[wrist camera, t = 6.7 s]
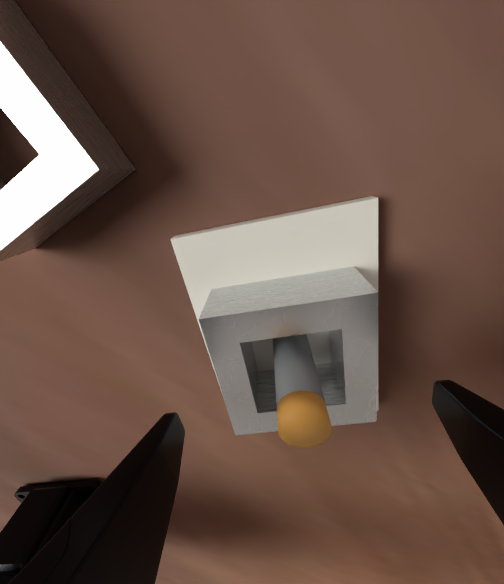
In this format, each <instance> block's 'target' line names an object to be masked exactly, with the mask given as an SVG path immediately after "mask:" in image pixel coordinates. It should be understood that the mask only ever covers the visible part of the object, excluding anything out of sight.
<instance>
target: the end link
mask: <svg viewBox="0 0 504 584" xmlns="http://www.w3.org/2000/svg"><path fill="white" fill-rule="evenodd" d="M199 322H200V325H201V328H202V331H203V335H204V338H205V341H206V344H207V347H208V350H209V353H210V357H211V360H212V363H213V366H214V369H215V372H216V376H217V379H218V382H219V385H220V388H221V391H222V395H223V398H224V401H225V404H226V407H227V410H228V414H229V417H230V420H231V423H232V426H233V429H234V432H235V435H243V434H253V433H264V432H274V431H278V419H277V403H276V387H275V371H274V369H272V370H264V371H258V368H257V364H256V359H255V355H254V351H253V346H252V342H251V341H257V340H265V339H272V338H279V337H287V336H294V335H302V334H309V333H316V332H324V331H329V343H330V356H331V362H330V363H321V364H315V367H316V371H317V374H318V378H319V382H320V385H321V389H322V393H323V396H324V400H325V404H326V407H327V411H328V415H329V419H330V422H331V426H336V425H347V424H357V423H367V422H377V358H378V292H377V290H376V289H375V288H374V287H373V286H372V285H371V284H370V283H369V282H368V281H367V280H366V279H365V278H364V277H363V276H362V275H361V274H360V272H359V271H358V270H357V269H356V268H355V267H354V266H353V267H347V268H340V269H334V270H328V271H322V272H315V273H309V274H303V275H297V276H290V277H284V278H278V279H272V280H265V281H259V282H253V283H247V284H241V285H234V286H228V287H222V288H216V289H211V291H210V293H209V296H208V298H207V301H206V303H205V305H204V308H203V310H202V312H201V315H200V317H199Z"/></svg>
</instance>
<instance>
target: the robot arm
mask: <svg viewBox="0 0 504 584" xmlns="http://www.w3.org/2000/svg"><path fill="white" fill-rule="evenodd" d="M432 403H433V406H434V409H435V411H436V412H437V414H438V416H439V418H440V420H441V422H442V424H443V426H444V428H445V430H446V432H447V434H448V435H449V437H450V439H451V441H452V443H453V445H454V447H455V449H456V451H457V453H458V454H459V456H460V458H461V460H462V461H463V463H464V464H465V466H466V468H467V469H468V471H469V472H470V474H471V475H472V477H473V479H474V480H475V482H476V483H477V485H478V486H479V488H480V489H481V491H482V492H483V494H484V496H485V497H486V499H487V500H488V502H489V503H490V505H491V506H492V508H493V509H494V511H495V512H496V514H497V516H498V517H499V519H500V520H501V522H502V523H503V525H504V410H503V409H502V408H500V407H498V406H496V405H494V404H493V403H491V402H489V401H487V400H485V399H484V398H482V397H480V396H478V395H476V394H475V393H473V392H471V391H469V390H467V389H466V388H464V387H462V386H460V385H459V384H457V383H455V382H453V381H451V380H441V381H436V382H435V383H434V387H433V396H432ZM184 436H185V430H184V426H183V424H182V422H181V420H180V418H179V415H178V414H177V413H175V412H174V413H166V414H164V415H163V416H162V417H161V418H160V419H159V421H158V422H157V423H156V424H155V425H154V426H153V427H152V428H151V429H150V431H149V432H148V433H147V434H146V435H145V436H144V437H143V438H142V439H141V441H140V442H139V443H138V444H137V445H136V446H135V447H134V448H133V449H132V450H131V452H130V453H129V454H128V455H127V456H126V457H125V458H124V459H123V460H122V462H121V463H120V464H119V465H118V466H117V467H116V468H115V469H114V470H113V471H112V473H111V474H110V475H109V476H108V477H107V478H106V479H105V480H104V481H103V483H102V484H101V483H100V482H98V481H95V480H87V481H76V482H65V483H54V484H43V485H32V486H22V487H20V488H19V489H18V490H17V491H16V493H15V494H14V496H15V497H16V498H17V499H18V500H19V501H20V502H21V505H20V506H19V508H18V509H17V510H16V512H15V513H14V515H13V516H12V517H11V519H10V520H9V522H8V523H7V524H6V526H5V527H4V529H3V530H2V531H1V533H0V584H155V581H156V576H157V572H158V568H159V563H160V559H161V555H162V551H163V546H164V542H165V538H166V533H167V529H168V525H169V520H170V516H171V512H172V507H173V503H174V499H175V495H176V490H177V485H178V480H179V473H180V466H181V458H182V451H183V444H184Z"/></svg>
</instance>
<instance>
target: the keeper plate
mask: <svg viewBox="0 0 504 584" xmlns="http://www.w3.org/2000/svg"><path fill="white" fill-rule="evenodd" d="M170 240H171V243H172V246H173V249H174V252H175V255H176V258H177V261H178V264H179V267H180V270H181V273H182V276H183V279H184V282H185V285H186V287H187V290H188V293H189V296H190V299H191V302H192V305H193V308H194V311H195V314H196V317H197V320H198V323H199V326H200V329H201V332H202V335H203V331H202V328H201V325H200V322H199V317H200V315H201V312H202V310H203V308H204V305H205V303H206V301H207V298H208V296H209V293H210V291H211V289H216V288H222V287H228V286H234V285H241V284H247V283H253V282H259V281H265V280H272V279H278V278H284V277H290V276H297V275H303V274H309V273H315V272H322V271H328V270H334V269H340V268H347V267H353V266H354V267H355V268H356V269H357V270H358V271H359V272H360V274H361V275H362V276H363V277H364V278H365V279H366V280H367V281H368V282H369V283H370V284H371V285H372V286H373V287H374V288H375V289H376V290H377V292H378V198H377V197H373V196H370V197H365V198H360V199H355V200H350V201H345V202H340V203H335V204H330V205H325V206H320V207H315V208H310V209H305V210H300V211H295V212H290V213H286V214H281V215H276V216H271V217H266V218H261V219H256V220H251V221H246V222H241V223H236V224H231V225H226V226H221V227H216V228H211V229H206V230H201V231H196V232H191V233H186V234H181V235H176V236H174V237H173V238H171V239H170ZM203 338H204V335H203ZM204 341H205V338H204ZM251 342H252V346H253V351H254V355H255V359H256V364H257V368H258V371H264V370H272V369H274V371H275V387H276V403H277V419H278V433H279V436H280V438H281V439H282V440H283V441H284V442H285V443H287V444H289V445H291V446H294V447H299V448H309V447H314V446H317V445H320V444H322V443H323V442H325V441H326V440H327V439H328V438H329V436H330V435H331V432H332V426H331V422H330V419H329V415H328V411H327V407H326V404H325V400H324V396H323V393H322V389H321V385H320V382H319V378H318V374H317V371H316V367H315V364H321V363H330V362H331V356H330V343H329V331H324V332H316V333H309V334H302V335H294V336H287V337H279V338H272V339H265V340H257V341H251ZM205 344H206V341H205ZM206 347H207V344H206ZM207 350H208V347H207ZM208 353H209V350H208ZM209 356H210V353H209ZM210 359H211V357H210ZM211 362H212V360H211ZM212 365H213V363H212ZM213 368H214V366H213ZM214 371H215V369H214ZM215 374H216V372H215ZM216 377H217V376H216ZM217 380H218V379H217ZM218 383H219V382H218ZM219 386H220V385H219ZM220 389H221V388H220ZM221 392H222V391H221ZM377 411H378V358H377Z"/></svg>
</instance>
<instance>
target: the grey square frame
mask: <svg viewBox="0 0 504 584" xmlns="http://www.w3.org/2000/svg"><path fill="white" fill-rule="evenodd" d="M0 108H1V109H2V110H3V111H4V112H5V114H6V115H7V116H8V117H9V118H10V119H11V121H12V122H13V123H14V124H15V125H16V127H17V128H18V129H19V130H20V131H21V133H22V134H23V135H24V136H25V137H26V139H27V140H28V141H29V142H30V143H31V145H32V146H33V147H34V148H35V149H36V151H37V152H38V153H39V154H40V155H39V156H37V157H36V158H35V159H34V160H33V161H32V162H31V163H30V164H29V165H28V166H27V167H25V168H24V169H23V170H22V171H21V172H20V173H19V174H18V175H17V176H16V177H15V178H13V179H12V180H11V181H10V182H9V183H8V184H7V185H6V184H5V183H4V182H3V180H2V179H1V178H0V261H1V260H4V259H7V258H10V257H13V256H16V255H18V254H21V253H24V252H27V251H30V250H33V249H35V248H36V247H37V246H39V245H40V244H41V243H43V242H44V241H45V240H46V239H48V238H49V237H50V236H51V235H53V234H54V233H55V232H57V231H58V230H59V229H60V228H62V227H63V226H64V225H66V224H67V223H68V222H69V221H71V220H72V219H73V218H75V217H76V216H77V215H78V214H80V213H81V212H82V211H83V210H85V209H86V208H87V207H89V206H90V205H91V204H92V203H94V202H95V201H96V200H98V199H99V198H100V197H101V196H103V195H104V194H105V193H106V192H108V191H109V190H110V189H112V188H113V187H114V186H115V185H117V184H118V183H119V182H121V181H122V180H123V179H124V178H126V177H127V176H128V175H129V174H131V173H132V172H133V171H135V170H136V168H135V167H134V166H133V164H132V163H131V161H130V160H129V159H128V157H127V156H126V154H125V153H124V152H123V150H122V149H121V148H120V146H119V145H118V143H117V142H116V141H115V139H114V138H113V136H112V135H111V134H110V132H109V131H108V129H107V128H106V127H105V125H104V124H103V123H102V121H101V120H100V118H99V117H98V116H97V114H96V113H95V111H94V110H93V109H92V107H91V106H90V104H89V103H88V102H87V100H86V99H85V98H84V96H83V95H82V93H81V92H80V91H79V89H78V88H77V86H76V85H75V84H74V82H73V81H72V80H71V78H70V77H69V75H68V74H67V73H66V71H65V70H64V68H63V67H62V66H61V64H60V63H59V61H58V60H57V59H56V57H55V56H54V55H53V53H52V52H51V50H50V49H49V48H48V46H47V45H46V43H45V42H44V41H43V39H42V38H41V36H40V35H39V34H38V32H37V31H36V30H35V28H34V27H33V25H32V24H31V23H30V21H29V20H28V18H27V17H26V16H25V14H24V13H23V11H22V10H21V9H20V7H19V6H18V5H17V3H16V2H15V0H0Z"/></svg>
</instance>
